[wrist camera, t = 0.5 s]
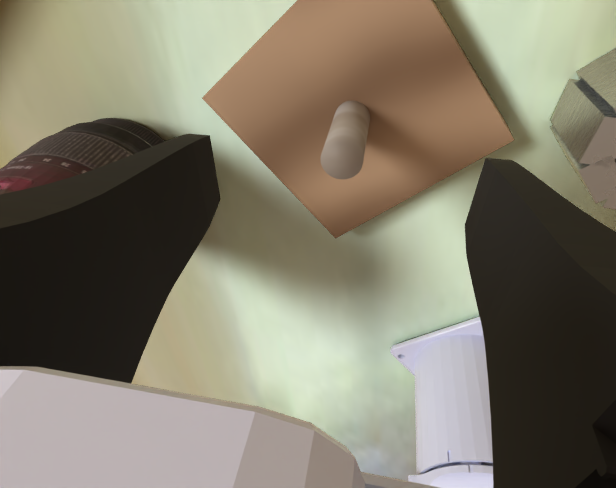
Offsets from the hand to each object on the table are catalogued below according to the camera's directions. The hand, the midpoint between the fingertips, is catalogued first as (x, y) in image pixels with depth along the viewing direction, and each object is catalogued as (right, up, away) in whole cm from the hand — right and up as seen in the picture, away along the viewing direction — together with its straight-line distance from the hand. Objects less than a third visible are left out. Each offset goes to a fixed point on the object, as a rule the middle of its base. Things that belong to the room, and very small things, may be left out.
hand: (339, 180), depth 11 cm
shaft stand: (+1, +5, +8) cm, 10 cm away
